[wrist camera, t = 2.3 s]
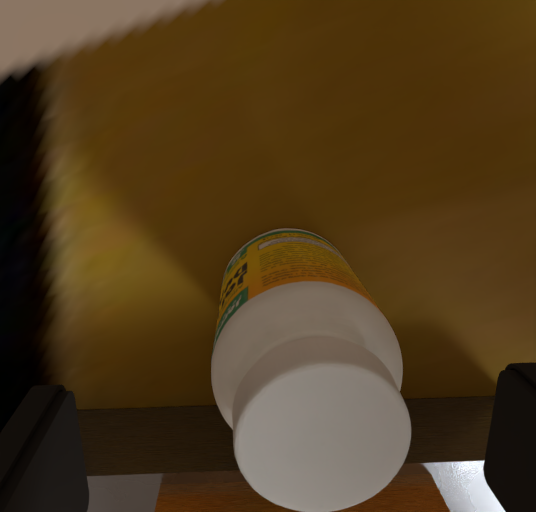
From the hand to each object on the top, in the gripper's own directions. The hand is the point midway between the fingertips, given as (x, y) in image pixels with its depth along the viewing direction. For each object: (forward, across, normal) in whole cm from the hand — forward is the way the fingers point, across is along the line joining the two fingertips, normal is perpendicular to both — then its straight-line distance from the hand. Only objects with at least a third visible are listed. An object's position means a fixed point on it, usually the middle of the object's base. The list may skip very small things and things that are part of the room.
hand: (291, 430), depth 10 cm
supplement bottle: (+10, -1, 0) cm, 10 cm away
